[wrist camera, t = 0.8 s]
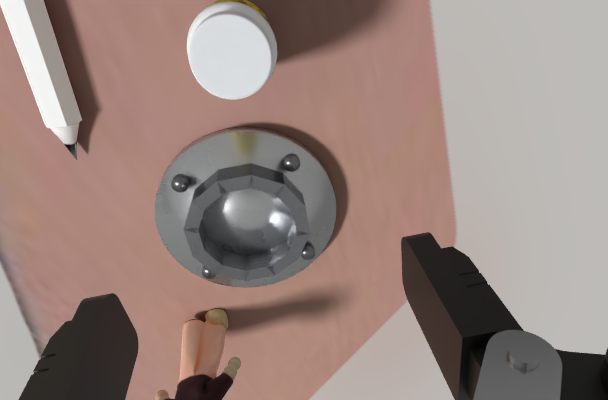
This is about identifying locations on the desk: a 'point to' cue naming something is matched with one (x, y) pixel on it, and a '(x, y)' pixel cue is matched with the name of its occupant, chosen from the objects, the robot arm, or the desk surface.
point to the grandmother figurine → (203, 360)
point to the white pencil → (44, 67)
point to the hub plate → (245, 207)
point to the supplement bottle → (232, 48)
